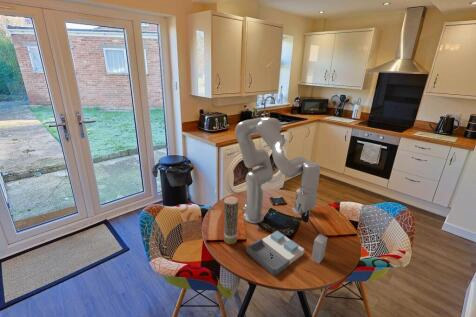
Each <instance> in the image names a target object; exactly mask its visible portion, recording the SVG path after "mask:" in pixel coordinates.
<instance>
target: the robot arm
mask: <svg viewBox="0 0 476 317" xmlns="http://www.w3.org/2000/svg"><path fill="white" fill-rule="evenodd" d="M281 130H282V123H281V121H280V120H279V119H278V118H275V117H257V118H252V119H246V120H243V121H240V122H239V123H238V124H236V126H235V129H234V135H235V138H236V141H237V143H238V145H239V149H240V153H241V156H242V159H243V163H244V166H245V167H246V168H248V169H252V168H253V169H252V170H250V171H249V172H247V173H246V175H245V183H246V204H245V205H244V207H242V209H243V210H244V213H243V216H242V217H243V220H244V221H245V222H247V223H250V224H259V223H261V222H264V218H265V216H264V214H263V201H264V191H263V189H262V185H265V183H268V182H271V180H273V177H274V170H273V167H272V163H271V162H272V161H271V159H270V156H269V153H268V152H267V150H266V149H264V148H256V145H255V142H254V140H253V139H252V137H250V136H253V135H257V134H258V135H259V136H260V138H261V139H262V140H263V141H264V142H265V143H266V145H267V146H268V147H269V148H270V149H271V151H272V153H271V155H272V158H273V163H274V165H275V166H276V168H278V170H279V171H280V172H281V173H282V174H283V175H284V176H286V177H287V178H293V177H295V176H298V175H300V174H301V181H300V182H301V183H300V188H299V189H300V192H299V194H297V195H298V199H296V200H297V204H296V209H299V212H298V214H297V215H300V216H301V218H300V221H301V222H303V223H304V224H307V223H308V222H309V219H310V215H311V211H312V209H314V208H315V207H316V204H317V196H318V188H319V187H318V185H319V179H320V172H321V166H320V164H319V163H317V162H314V161H310V160H309V159H306V158H305V157H303V156H297V157H294V158H291V159H290V160H289V159H288V158H287V156H286V155H285V154H284V152H283V147H284V146H285V144H286V138H285V136H283V134H281ZM256 167H257V168H256ZM254 168H255V169H254Z"/></svg>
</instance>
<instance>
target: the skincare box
mask: <svg viewBox="0 0 476 317" xmlns="http://www.w3.org/2000/svg"><path fill="white" fill-rule="evenodd" d="M327 243H328V237H327V236H325V235H323V234H321V233H319V234H317V236H316V238H314V241H313V246H312V253H311V261H313V262H315V263H318V264H321V262H322V261H323V259H324V257H325V253H326V247H327Z"/></svg>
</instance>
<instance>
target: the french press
mask: <svg viewBox="0 0 476 317" xmlns="http://www.w3.org/2000/svg"><path fill="white" fill-rule="evenodd" d="M299 192H300V188H297V189H296V192H295V193H292V195H291V197H290V199H291V203H293V207H292V211H293V212H294V213H295V214H297V215H299V214H298V212H299V209H296V204H297V199H298V195H299ZM294 196H295V200H294V201H293V197H294Z"/></svg>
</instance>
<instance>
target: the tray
mask: <svg viewBox="0 0 476 317" xmlns="http://www.w3.org/2000/svg"><path fill="white" fill-rule="evenodd" d="M262 239H263V238H259V239H257V240H255V241H254V242H252V243H251V244H248V245H247V246H246V247H245V248H246V249H245V250H246V254H248V255H249V256H250V257H251V258H252V259H253V260H254V261H256V262H257V263H258V264H259V265H260V266H261V267H262V268H263V269H265V270H266V271H267V272H268V273H269V274H270V275H272V276H273V277H276V276H277V275H279V274H280V273H281V272H283V271H284V270H285V269H287V268H288V267H289V266H290V264H289V261H290V260H289V259H287V260H286V261H283V260H282V259H280V258H279V257H278V256H277V255H275V254H274V253H273V252H271V251H270V250H269V249H268V248H266V247H265V246H264V245H262ZM270 253H271V254H272V255H273V256H272V255H271V254H270ZM270 255H271V256H270ZM271 257H273V258H272V259H271Z"/></svg>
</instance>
